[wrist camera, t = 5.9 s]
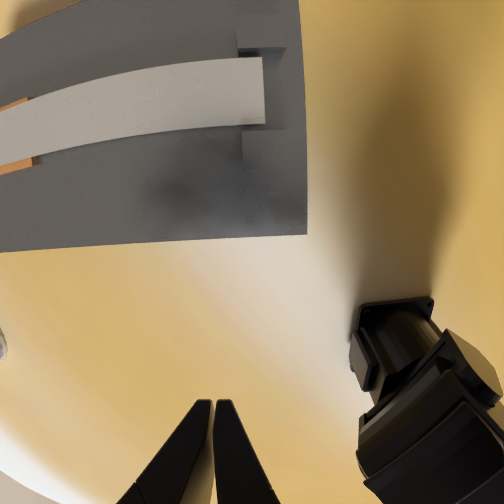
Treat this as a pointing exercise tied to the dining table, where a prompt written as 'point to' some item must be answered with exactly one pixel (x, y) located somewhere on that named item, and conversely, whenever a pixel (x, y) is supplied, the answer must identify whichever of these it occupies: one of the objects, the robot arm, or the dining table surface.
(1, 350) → the canned food
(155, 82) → the steel strap
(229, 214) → the silver metal tray
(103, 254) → the dining table surface
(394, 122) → the dining table surface
